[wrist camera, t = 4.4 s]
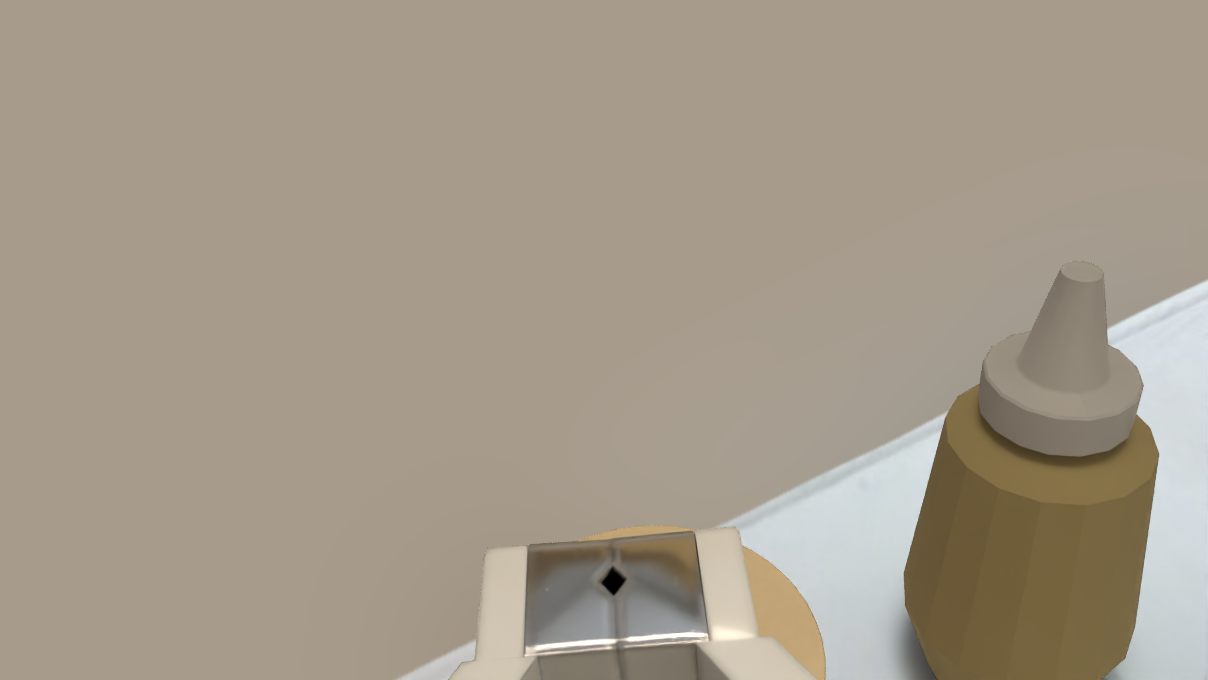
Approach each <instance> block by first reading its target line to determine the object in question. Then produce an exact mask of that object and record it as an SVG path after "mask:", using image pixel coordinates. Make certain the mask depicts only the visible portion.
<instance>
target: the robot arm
mask: <svg viewBox="0 0 1208 680" xmlns="http://www.w3.org/2000/svg"><path fill="white" fill-rule="evenodd" d="M448 680H818V679H817V678H816V677H815V676H814V675H813V674H812V673H811V672H810V671H808V670H807V669H806V668H805V667H804V666H803V665H802V664H801V663H800V662H799V661H798V660H797V659H796V658H795V657H794V656H793V655H792V654H791V653H790V652H789V651H788V650H787V649H785V648H784V647H783V646H782V645H781V644H780V643H779V642H778V641H777V640H776V639H775V638H774V637H773V636H763V637H760V636H759V631H758V625H757V620H756V615H755V610H754V605H753V600H752V595H751V590H750V584H749V579H748V574H747V569H746V564H745V559H744V554H743V549H742V543H741V538H740V533H739V531H738V530H737V528H736V527H735V526H734V527H724V528H713V529H703V530H695V531H694V533H693V530H691V531H681V532H670V533H660V534H650V535H640V536H630V537H619V538H611V539H606V540H590V541H575V542H560V543H559V542H558V543H542V544H530V545H523V546H507V547H492V548H487V550H486V553H485V556H484V559H483V570H482V581H481V592H480V603H479V615H478V627H477V638H476V649H475V661H468V662H462V663H461V664H460V665H459V667H458V668H457V669H456V670H455V672H454V673H453V674H452V675H451V677H450V678H449V679H448Z"/></svg>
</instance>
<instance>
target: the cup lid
mask: <svg viewBox="0 0 1208 680" xmlns="http://www.w3.org/2000/svg"><path fill="white" fill-rule="evenodd" d="M691 530H693V533H694V531H695V530H694V529H688V528H681V527H673V526H638V527H637V526H636V527H629V528H622V529H615V530H612V531H607V532H603V533H599V534H595V535H592V536H590V537H587V538H584V539H581V540H578V541H590V540H606V539H611V538H619V537H630V536H640V535H650V534H660V533H670V532H681V531H691ZM742 549H743V554H744V559H745V564H746V569H747V574H748V579H749V584H750V590H751V595H752V600H753V605H754V610H755V615H756V620H757V625H758V631H759V636H760V637H763V636H773V637H774V638H775V639H776V640H777V641H778V642H779V643H780V644H781V645H782V646H783V647H784V648H785V649H787V650H788V651H789V652H790V653H791V654H792V655H793V656H794V657H795V658H796V659H797V660H798V661H799V662H800V663H801V664H802V665H803V666H804V667H805V668H806V669H807V670H808V671H810V672H811V673H812V674H813V675H814V676H815V677H816V678H817V679H818V680H825V654H824V648H823V642H822V637H821V634H820V631H819V628H818V625H817V623H816V620H815V618H814V616H813V614H812V612H811V610H810V608H809V606H808V604H807V603H806V601H805V600H804V598H803V597H802V596H801V594H800V593H799V591H798V590H797V588H796V587H795V586H794V585H793V584H792V583H791V582H790V581H789V580H788V578H787V577H786V576H785V575H784V574H783V573H782V572H781V571H779V570H778V569H777V568H776V567H775V566H773V565H772V564H771V563H770V562H769V561H767V560H766V559H764V558H763V557H761V556H760V555H758V554H757V553H755V552H753V551H752V550H750V549H748V548H746V547H744V546H742ZM474 661H475V659H474Z"/></svg>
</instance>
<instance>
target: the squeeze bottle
mask: <svg viewBox="0 0 1208 680" xmlns="http://www.w3.org/2000/svg"><path fill="white" fill-rule="evenodd" d="M1143 386H1144V385H1143V382H1142V379H1141V377H1140V374H1139V371H1138V368H1137V367H1136V366H1135V365H1134V364H1133V363H1132V362H1131V361H1130V360H1129V359H1128V358H1127V357H1126V356H1125V355H1124V354H1122V353H1121V352H1120V351H1119V350H1118V349H1116V348H1114V347H1112V346H1110V345H1108V339H1107V323H1106V302H1105V284H1104V273H1103V270H1102V269H1101V268H1100V267H1099V266H1097V265H1095V264H1092V263H1089V262H1084V261H1072V262H1068V263H1066V264H1064V265H1062V267H1061V269H1060V271H1059V273H1058V275H1057V277H1056V279H1055V281H1054V283H1053V286H1052V288H1051V290H1050V292H1049V294H1048V296H1047V298H1046V300H1045V302H1044V305H1043V307H1042V309H1041V311H1040V313H1039V315H1038V317H1037V319H1036V321H1035V323H1034V326H1033V328H1032V330H1031V331H1029V332H1024V333H1019V334H1014V335H1011V336H1009V337H1007V338H1006V339H1004V340H1002V341H1000V342H999V343H997V344H995V345H993V346H992V347H991V349H990V350H989V352H988V354H987V355H986V358H985V359H984V360H983V365H982V371H981V378H980V384H978V385H976V386H975V387H973V388H971V389H970V390H968V391H966V392H965V393H963V394H961V395H959V396H958V397H957V399H956V400H955V402H954V404H953V405H952V407H951V409H950V411H949V412H948V414H947V416H946V417H945V421H944V425H943V429H942V432H941V436H940V440H939V444H938V447H937V451H936V455H935V458H934V462H933V466H932V470H931V473H930V477H929V481H928V485H927V488H926V492H925V496H924V500H923V503H922V507H921V511H920V515H919V518H918V522H917V526H916V530H915V533H914V537H913V541H912V545H911V548H910V552H909V556H908V559H907V563H906V567H905V571H904V590H905V606H906V609H907V611H908V614H909V617H910V619H911V622H912V624H913V627H914V629H915V632H916V635H917V637H918V640H919V642H920V645H921V647H922V650H923V653H924V655H925V658H926V660H927V662H928V664H929V666H930V668H931V670H932V672H933V673H934V675H935V677H936V679H937V680H1101V679H1102V678H1103V677H1104V676H1105V675H1107V674H1108V673H1109V672H1110V671H1111V670H1112V669H1113V668H1115V667H1116V666H1117V665H1118V664H1119V663H1120V662H1121V661H1123V660H1124V659H1125V657H1126V654H1127V651H1128V647H1129V644H1130V641H1131V638H1132V635H1133V631H1134V628H1135V623H1136V616H1137V609H1138V602H1139V595H1140V587H1141V580H1142V573H1143V566H1144V559H1145V552H1146V544H1147V537H1148V530H1149V523H1150V516H1151V509H1152V501H1153V494H1154V487H1155V480H1156V473H1157V466H1158V458H1159V452H1158V449H1157V446H1156V444H1155V441H1154V438H1153V435H1152V432H1151V429H1150V427H1149V426H1148V425H1147V424H1146V423H1145V422H1144V421H1143V420H1142V419H1141V418H1140V417H1139V416H1138V415H1137V414H1136V413H1137V409H1138V405H1139V401H1140V398H1141V394H1142V390H1143Z"/></svg>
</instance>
